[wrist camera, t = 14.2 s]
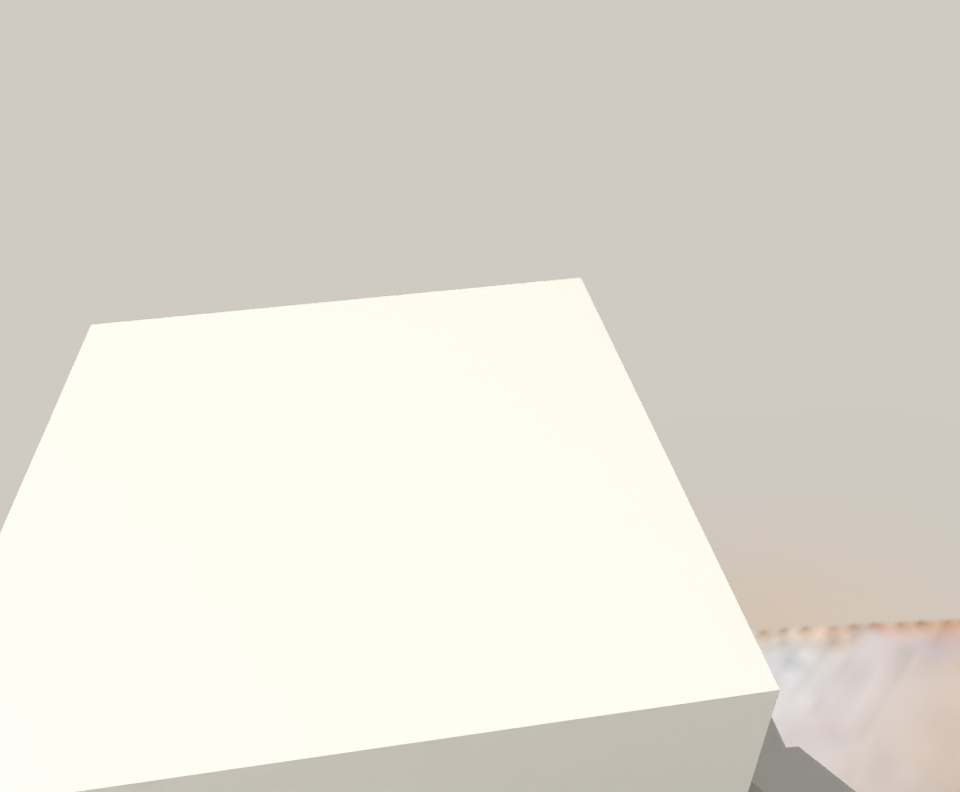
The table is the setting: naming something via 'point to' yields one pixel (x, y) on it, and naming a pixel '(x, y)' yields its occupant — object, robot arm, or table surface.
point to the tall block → (367, 563)
